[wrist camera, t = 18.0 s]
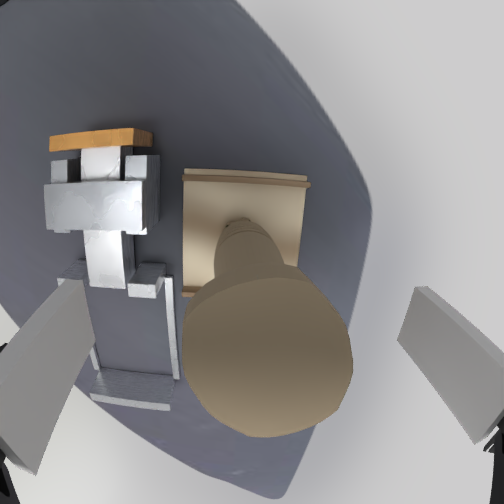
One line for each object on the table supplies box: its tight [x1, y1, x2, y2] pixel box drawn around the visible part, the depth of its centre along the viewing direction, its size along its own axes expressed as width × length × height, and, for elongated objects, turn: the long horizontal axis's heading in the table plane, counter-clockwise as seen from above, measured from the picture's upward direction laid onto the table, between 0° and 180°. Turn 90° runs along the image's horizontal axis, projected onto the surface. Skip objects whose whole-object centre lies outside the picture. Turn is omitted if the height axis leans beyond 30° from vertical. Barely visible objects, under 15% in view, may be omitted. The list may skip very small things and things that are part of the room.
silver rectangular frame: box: [57, 259, 180, 411], centre depth 22 cm, size 13×9×4 cm
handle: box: [182, 217, 353, 437], centre depth 15 cm, size 5×6×15 cm
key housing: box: [44, 155, 161, 235], centre depth 18 cm, size 5×7×5 cm
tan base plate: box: [182, 168, 311, 297], centre depth 22 cm, size 10×9×2 cm
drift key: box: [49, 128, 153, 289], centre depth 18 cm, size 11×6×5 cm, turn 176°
